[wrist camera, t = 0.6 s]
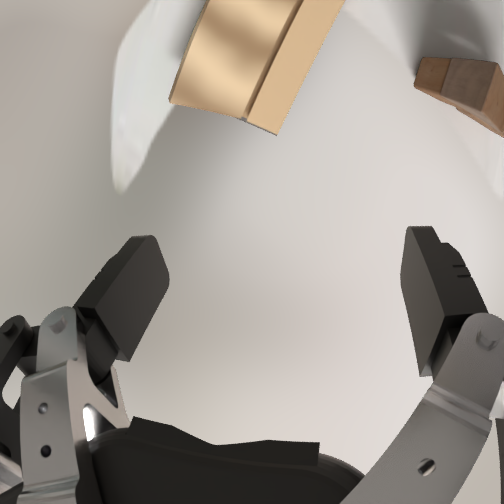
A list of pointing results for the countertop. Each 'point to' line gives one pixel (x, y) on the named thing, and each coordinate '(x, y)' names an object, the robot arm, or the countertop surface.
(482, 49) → the countertop surface
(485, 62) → the wooden block
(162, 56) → the countertop surface
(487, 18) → the countertop surface
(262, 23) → the board
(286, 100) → the floor section
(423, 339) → the robot arm
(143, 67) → the countertop surface
